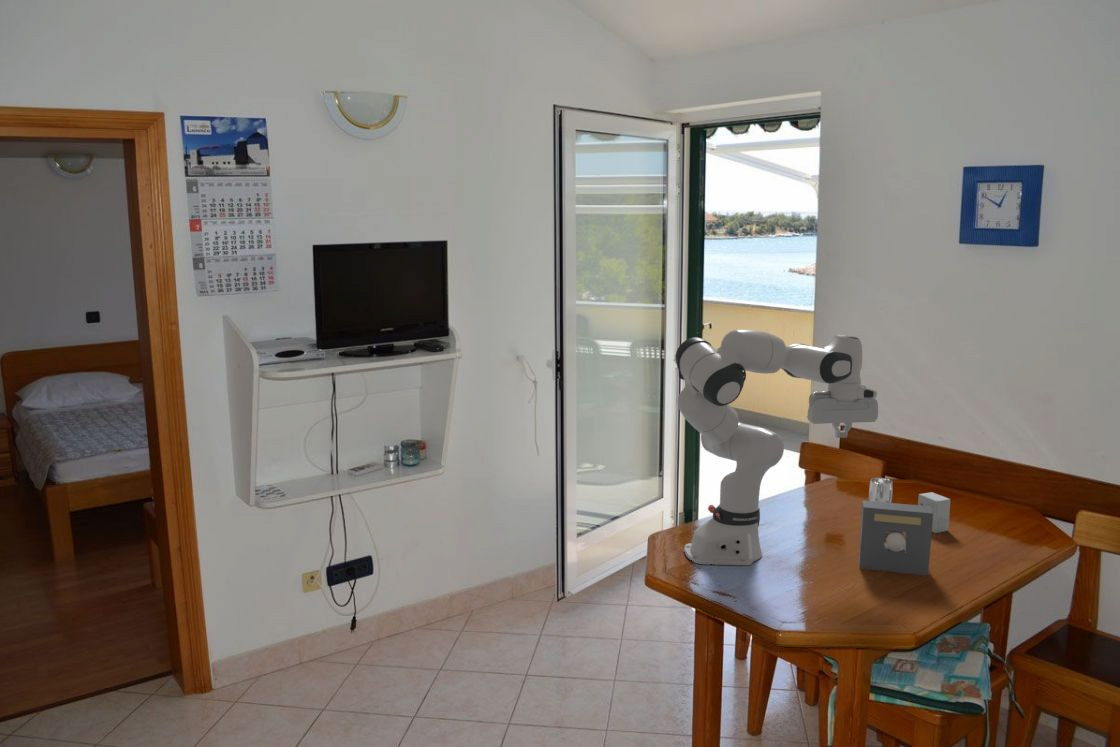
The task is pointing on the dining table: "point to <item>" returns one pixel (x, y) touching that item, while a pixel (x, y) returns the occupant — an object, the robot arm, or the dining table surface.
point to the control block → (898, 519)
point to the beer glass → (880, 490)
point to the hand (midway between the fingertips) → (841, 437)
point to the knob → (895, 540)
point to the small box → (937, 510)
